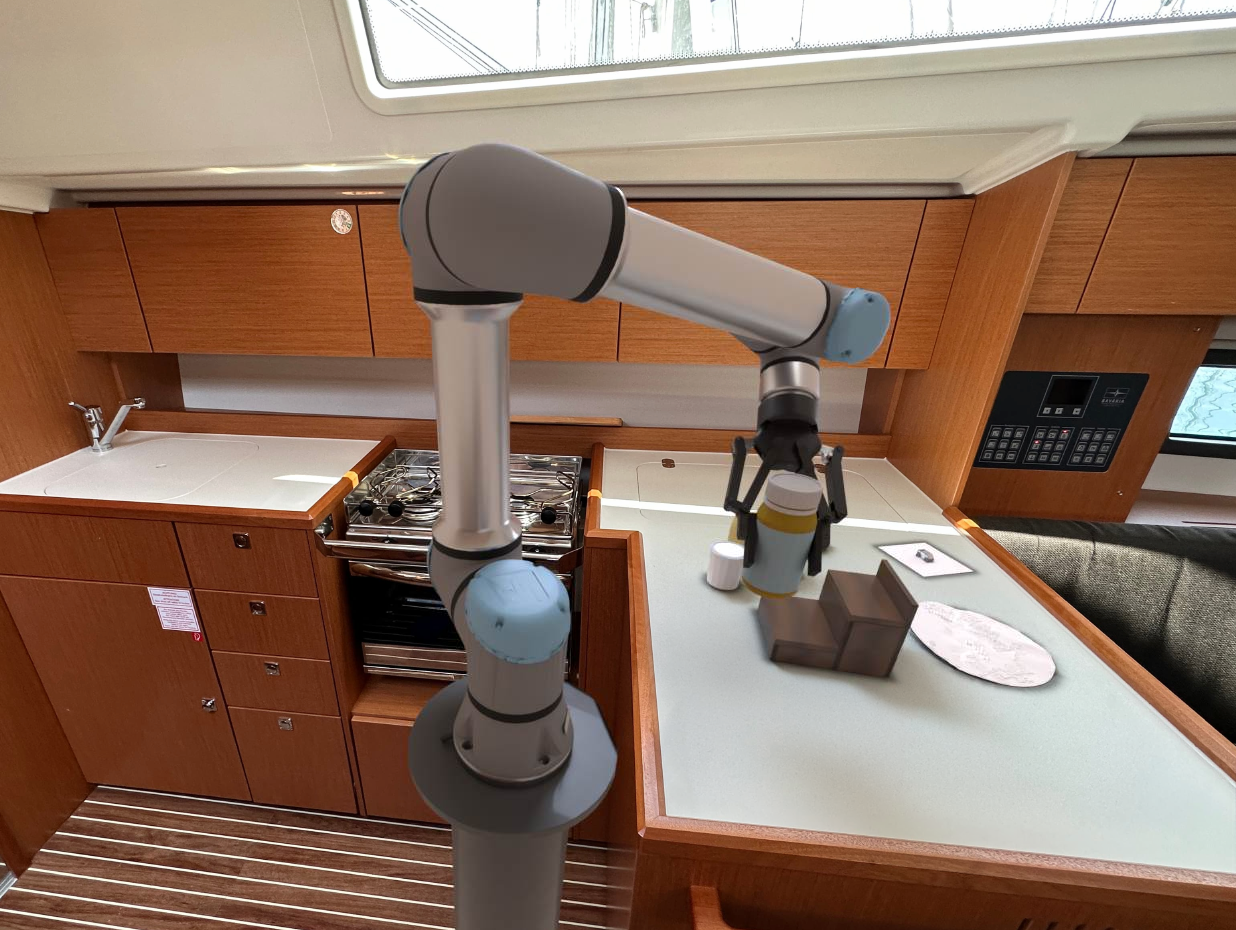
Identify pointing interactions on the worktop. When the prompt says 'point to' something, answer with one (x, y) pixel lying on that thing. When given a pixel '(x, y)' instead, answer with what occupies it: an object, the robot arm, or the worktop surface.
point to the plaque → (982, 646)
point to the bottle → (783, 535)
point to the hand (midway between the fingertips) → (781, 569)
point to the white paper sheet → (925, 559)
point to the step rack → (842, 623)
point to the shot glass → (725, 564)
